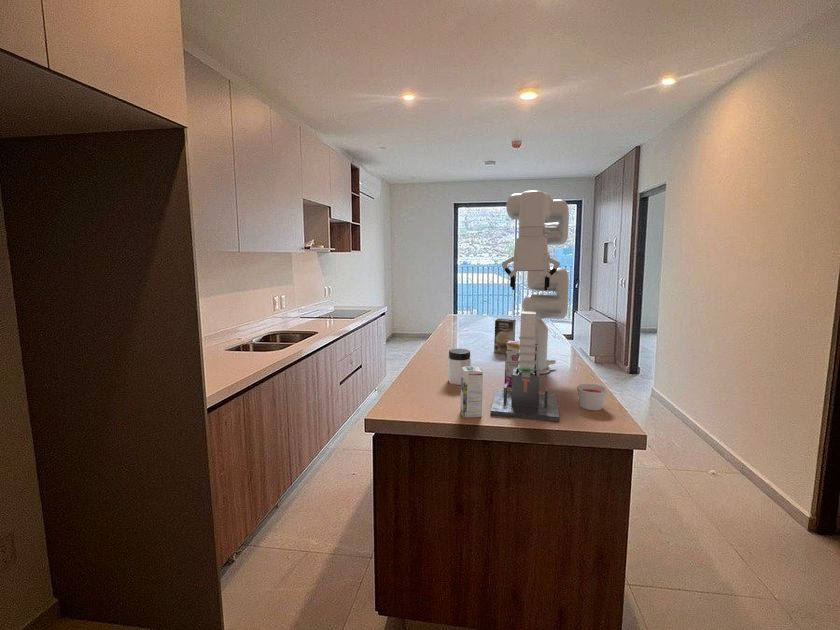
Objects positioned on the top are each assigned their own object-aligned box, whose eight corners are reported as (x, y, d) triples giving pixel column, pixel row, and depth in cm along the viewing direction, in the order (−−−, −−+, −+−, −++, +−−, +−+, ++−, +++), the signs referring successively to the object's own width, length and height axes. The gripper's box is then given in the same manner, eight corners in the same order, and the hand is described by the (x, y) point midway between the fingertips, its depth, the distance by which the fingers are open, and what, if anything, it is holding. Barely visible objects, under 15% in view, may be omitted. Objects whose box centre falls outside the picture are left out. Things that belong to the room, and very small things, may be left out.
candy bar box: (504, 386, 159) (505, 342, 157) (506, 382, 164) (507, 340, 162) (535, 389, 156) (537, 345, 153) (536, 385, 160) (538, 342, 158)
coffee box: (493, 352, 210) (494, 320, 207) (496, 350, 215) (497, 318, 213) (512, 354, 206) (513, 321, 203) (515, 351, 212) (516, 319, 209)
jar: (456, 386, 159) (456, 354, 157) (443, 380, 166) (443, 350, 164) (475, 382, 164) (475, 351, 162) (461, 377, 171) (462, 347, 169)
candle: (576, 400, 144) (577, 382, 143) (605, 404, 141) (606, 385, 140) (575, 410, 136) (576, 390, 135) (606, 413, 133) (607, 394, 132)
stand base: (556, 399, 146) (558, 362, 144) (559, 421, 127) (561, 380, 125) (496, 394, 151) (497, 358, 149) (490, 415, 132) (491, 375, 130)
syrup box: (459, 411, 135) (460, 366, 133) (478, 410, 136) (479, 365, 134) (463, 418, 130) (463, 371, 127) (482, 417, 130) (483, 371, 128)
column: (534, 379, 139) (536, 311, 136) (534, 383, 134) (536, 314, 131) (518, 378, 141) (520, 311, 137) (517, 382, 136) (519, 313, 132)
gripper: (560, 233, 132) (558, 289, 135) (503, 233, 136) (502, 287, 139) (562, 233, 125) (559, 291, 128) (501, 233, 129) (500, 290, 132)
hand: (529, 289), depth 134 cm, fingers open, 9 cm apart
